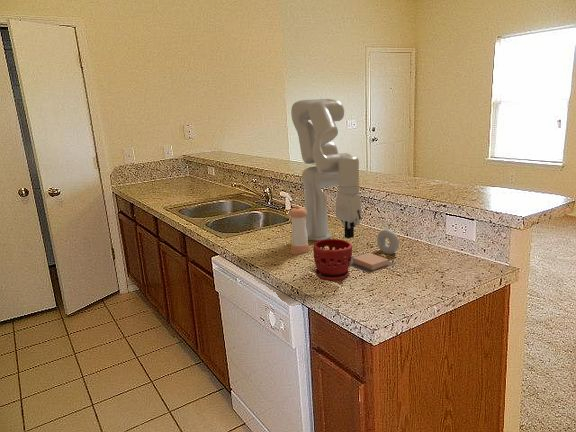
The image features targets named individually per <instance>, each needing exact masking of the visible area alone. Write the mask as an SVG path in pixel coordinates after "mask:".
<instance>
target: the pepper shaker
mask: <svg viewBox="0 0 576 432" xmlns="http://www.w3.org/2000/svg"><path fill="white" fill-rule="evenodd" d="M288 214H289V216H290V217H291V234H290V235H291V236H290V237H291V238H290V239H291V244H290V250H291V251H290V252H291V253H290V254H292V255H294V256H296V255H297V256H299V255H304V254H306V253H309V252H310V245H309V244H310V243H309V240H308V235H307V230H306V215H307V211H306V208H304V207H301V206H300V205H298V206H297V205H296V207H294V208H291V209H290V211H289V213H288Z"/></svg>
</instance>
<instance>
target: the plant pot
mask: <svg viewBox="0 0 576 432" xmlns="http://www.w3.org/2000/svg"><path fill="white" fill-rule="evenodd" d="M325 247H328V249H326V248H325ZM312 248H313V260H314V264H315V266H316V267H315V268H316V269H315V271H314V272H315V273H314V274H315V275H316V277H317V278H318V279H320V280H321V281H325V282H336V281H341V280H344V279H346V278H348V277H349V275H350V270H349V268H350V267H351V266H350V263H351V258H352V257H353V244H352V243H351V242H349V241H348V240H344V239H336V238H335V239H334V238H329V239H325V240H316V241H315V242H314V243H313V247H312Z"/></svg>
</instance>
